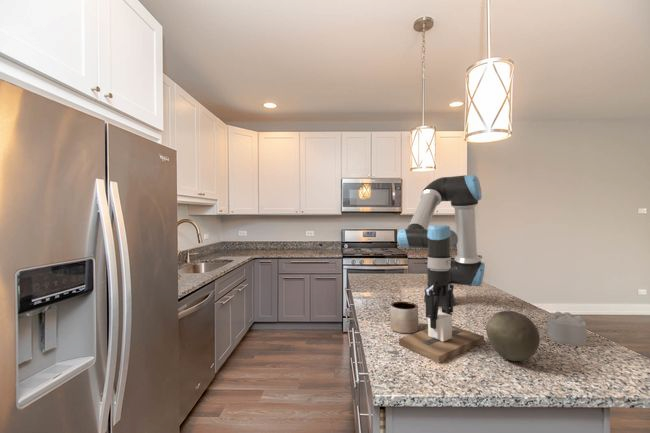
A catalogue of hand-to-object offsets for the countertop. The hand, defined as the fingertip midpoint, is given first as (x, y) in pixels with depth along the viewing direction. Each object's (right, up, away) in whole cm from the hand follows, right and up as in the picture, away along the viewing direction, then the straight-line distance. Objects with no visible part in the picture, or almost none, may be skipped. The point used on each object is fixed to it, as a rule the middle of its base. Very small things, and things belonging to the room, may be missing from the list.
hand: (439, 335), depth 105 cm
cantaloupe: (+18, -3, -12) cm, 22 cm away
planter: (-9, -4, +15) cm, 17 cm away
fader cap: (0, -1, 0) cm, 1 cm away
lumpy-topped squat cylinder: (+48, -3, +5) cm, 48 cm away
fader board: (+1, -3, +1) cm, 3 cm away
